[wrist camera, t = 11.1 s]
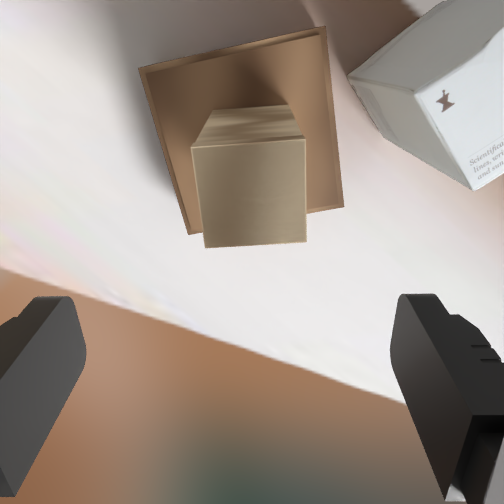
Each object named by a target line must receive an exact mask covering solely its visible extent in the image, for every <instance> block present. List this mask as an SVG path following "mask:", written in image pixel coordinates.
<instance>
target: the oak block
mask: <svg viewBox="0 0 504 504" xmlns="http://www.w3.org/2000/svg"><path fill="white" fill-rule="evenodd" d="M191 153H192V160H193V167H194V174H195V181H196V188H197V195H198V202H199V209H200V216H201V223H202V230H203V237H204V244H205V248H219V247H236V246H252V245H269V244H286V243H303V242H307V224H306V139H305V136H304V135H302V133H301V131H300V129H299V127H298V124H297V122H296V120H295V118H294V115H293V113H292V111H291V109H290V106H289V105H275V106H262V107H248V108H234V109H221V110H213V111H212V113H211V114H210V116H209V118H208V120H207V122H206V123H205V125H204V127H203V129H202V131H201V133H200V134H199V136H198V138H197V140H196V142H195V143H193V144H192V146H191Z"/></svg>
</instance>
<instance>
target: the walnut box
mask: <svg viewBox="0 0 504 504" xmlns="http://www.w3.org/2000/svg"><path fill="white" fill-rule="evenodd" d="M138 70H139V73H140V76H141V80H142V83H143V86H144V90H145V93H146V96H147V100H148V103H149V106H150V110H151V113H152V116H153V120H154V123H155V126H156V130H157V133H158V136H159V140H160V143H161V146H162V150H163V153H164V156H165V159H166V163H167V166H168V169H169V173H170V176H171V179H172V183H173V186H174V189H175V193H176V196H177V199H178V203H179V206H180V209H181V213H182V216H183V219H184V223H185V226H186V229H187V233H188V235H191V234H196V233H202V232H203V230H202V223H201V216H200V209H199V202H198V195H197V188H196V181H195V174H194V167H193V160H192V153H191V146H192V144H193V143H195V142H196V140H197V138H198V136H199V134H200V133H201V131H202V129H203V127H204V125H205V123H206V122H207V120H208V118H209V116H210V114H211V113H212V111H213V110H221V109H234V108H248V107H262V106H275V105H289V106H290V109H291V111H292V113H293V115H294V118H295V120H296V122H297V124H298V127H299V129H300V131H301V133H302V135H304V136H305V139H306V214H308V213H314V212H319V211H325V210H330V209H336V208H342V207H344V200H343V191H342V181H341V171H340V162H339V152H338V142H337V133H336V123H335V113H334V104H333V94H332V84H331V74H330V65H329V55H328V45H327V36H326V26H322V27H316V28H312V29H308V30H303V31H299V32H294V33H290V34H285V35H281V36H277V37H272V38H268V39H263V40H259V41H254V42H250V43H246V44H241V45H237V46H232V47H228V48H223V49H219V50H214V51H210V52H206V53H201V54H197V55H192V56H188V57H183V58H179V59H175V60H170V61H166V62H161V63H157V64H153V65H149V66H145V67H141V68H138Z"/></svg>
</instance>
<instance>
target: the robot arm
mask: <svg viewBox="0 0 504 504" xmlns="http://www.w3.org/2000/svg"><path fill="white" fill-rule="evenodd" d="M390 357H391V364H392V368H393V371H394V374H395V376H396V379H397V381H398V384H399V386H400V389H401V391H402V394H403V396H404V399H405V401H406V404H407V406H408V409H409V411H410V414H411V416H412V419H413V422H414V424H415V426H416V429H417V432H418V434H419V437H420V439H421V442H422V444H423V446H424V449H425V452H426V454H427V457H428V459H429V462H430V464H431V467H432V469H433V472H434V475H435V477H436V479H437V482H438V485H439V487H440V489H441V492H442V495H443V497H444V500H445V501H466V502H467V504H504V363H502V362H501V358H500V357H499V355H498V354H497V353H496V351H495V350H494V349H493V348H491V345H490V343H489V342H488V341H487V339H486V338H485V337H484V335H483V334H482V333H481V331H480V330H479V329H478V328H477V327H476V326H474V325H473V324H471V323H470V322H469V321H467V320H466V319H464V318H463V317H462V316H460V315H450V314H449V313H448V311H447V310H446V308H445V307H444V305H443V304H442V303H441V301H440V300H439V298H438V297H437V296H436V295H435V294H401V295H400V297H399V299H398V303H397V309H396V315H395V320H394V326H393V332H392V338H391V344H390ZM85 361H86V345H85V341H84V337H83V334H82V330H81V326H80V323H79V319H78V316H77V312H76V309H75V305H74V302H73V300H72V299H71V298H70V297H67V296H49V297H35V298H34V299H33V300H32V301H31V302H30V303H29V304H28V305H27V306H26V308H25V309H24V310H23V311H22V312H21V314H19V316H18V317H13V318H11V319H10V320H9V321H7V322H5V323H4V324H2V325H1V326H0V497H15V496H16V494H17V492H18V490H19V488H20V486H21V485H22V483H23V481H24V479H25V477H26V475H27V473H28V471H29V470H30V468H31V466H32V464H33V462H34V460H35V458H36V457H37V455H38V453H39V451H40V449H41V447H42V445H43V444H44V441H45V440H46V438H47V436H48V434H49V432H50V430H51V429H52V427H53V425H54V423H55V421H56V419H57V417H58V416H59V413H60V412H61V410H62V408H63V406H64V404H65V402H66V401H67V399H68V397H69V395H70V393H71V391H72V389H73V388H74V386H75V384H76V382H77V380H78V378H79V376H80V374H81V372H82V371H83V368H84V365H85Z"/></svg>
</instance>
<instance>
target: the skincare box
mask: <svg viewBox="0 0 504 504" xmlns="http://www.w3.org/2000/svg"><path fill="white" fill-rule="evenodd" d="M347 78H348V80H349V82H350V84H351V85H352V87H353V89H354V90H355V92H356V94H357V95H358V97H359V99H360V100H361V102H362V104H363V105H364V107H365V108H366V110H367V112H368V113H369V115H370V116H371V118H372V120H373V121H374V123H375V125H376V126H377V128H378V129H379V131H380V133H381V134H382V136H383V137H384V138H385V139H387V140H388V141H390V142H392V143H393V144H395V145H397V146H398V147H400V148H402V149H403V150H405V151H407V152H409V153H410V154H412V155H414V156H415V157H417V158H419V159H420V160H422V161H424V162H425V163H427V164H429V165H430V166H432V167H434V168H435V169H437V170H439V171H440V172H442V173H444V174H446V175H447V176H449V177H450V178H452V179H454V180H456V181H458V182H459V183H461V184H463V185H464V186H466V187H468V188H469V189H471V190H472V191H476V190H477V189H479V188H481V187H483V186H484V185H486V184H487V183H489V182H491V181H492V180H494V179H495V178H497V177H498V176H500V175H502V174H503V173H504V0H447V1H443V2H441V3H440V4H438V5H436V6H435V7H434V8H432V9H431V10H430V11H429V12H427V13H426V14H425V15H423V16H422V17H421V18H419V19H418V20H417V21H415V22H414V23H413V24H412V25H410V26H409V27H408V28H406V29H405V30H404V31H402V32H401V33H400V34H399V35H397V36H396V37H395V38H394V39H392V40H391V41H390V42H388V43H387V44H386V45H385V46H383V47H382V48H381V49H379V50H378V51H377V52H376V53H375V54H373V55H372V56H371V57H370V58H369V59H368V60H367V61H365V62H364V63H363V64H362V65H361V66H359V67H358V68H356V69H355V70H354V71H352V72H351V73H350V74H348V75H347Z"/></svg>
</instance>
